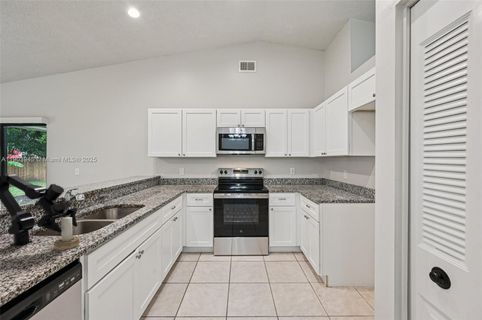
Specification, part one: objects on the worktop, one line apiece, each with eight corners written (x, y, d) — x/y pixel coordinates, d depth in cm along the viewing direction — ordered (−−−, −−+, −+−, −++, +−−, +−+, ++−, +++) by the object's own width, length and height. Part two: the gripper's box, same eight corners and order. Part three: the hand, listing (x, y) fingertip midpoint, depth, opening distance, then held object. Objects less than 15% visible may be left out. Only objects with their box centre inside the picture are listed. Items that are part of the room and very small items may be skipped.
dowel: (59, 247, 121) (59, 219, 121) (64, 244, 126) (64, 217, 125) (69, 247, 122) (69, 219, 121) (74, 243, 126) (73, 216, 126)
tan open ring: (49, 248, 120) (49, 242, 120) (68, 241, 130) (68, 235, 130) (65, 250, 118) (65, 244, 117) (83, 243, 127) (83, 237, 127)
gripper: (41, 199, 114) (62, 223, 113) (74, 192, 133) (93, 213, 131) (27, 215, 116) (48, 239, 114) (62, 206, 134) (80, 227, 133)
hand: (69, 229), depth 123 cm, fingers open, 9 cm apart
